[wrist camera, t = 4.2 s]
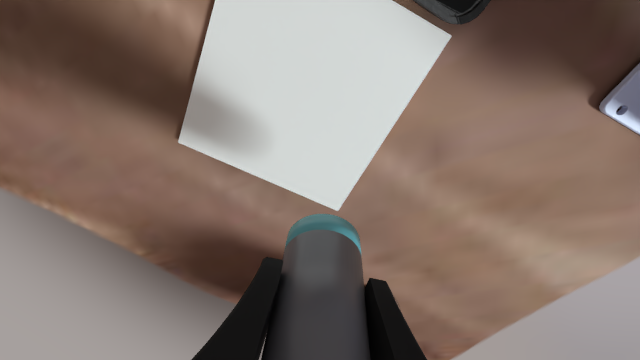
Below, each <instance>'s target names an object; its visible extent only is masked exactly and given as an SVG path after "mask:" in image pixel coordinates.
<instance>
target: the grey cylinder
mask: <svg viewBox="0 0 640 360" xmlns="http://www.w3.org/2000/svg"><path fill="white" fill-rule="evenodd" d="M283 260H284V261H283V266H282V271H281V276H280V281H279V285H278V289H277V294H276V298H275V301H274V305H273V308H272V312H271V316H270V321H269V325H268V330H267V335H266V339H265V344H264V349H263V353H262V358H261V360H371V358H370V347H369V336H368V325H367V314H366V303H365V291H364V280H363V269H362V258H361V247H360V238H359V235H358V233H357V231H356V229H355V228H354V227H353V226H352V225H351V224H350V223H349V222H348V221H346V220H344V219H342V218H340V217H338V216H334V215H330V214H315V215H310V216H307V217H304V218H302V219H300V220H299V221H297V222H296V223H295V224H294V225H293V226H292V227H291V229H290V231H289V233H288V237H287V241H286V246H285V251H284V255H283Z"/></svg>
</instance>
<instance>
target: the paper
mask: <svg viewBox="0 0 640 360" xmlns="http://www.w3.org/2000/svg"><path fill="white" fill-rule="evenodd" d="M450 38H451V35H450V34H448V33H446V32H445V31H443V30H441V29H440V28H438V27H436V26H434V25H433V24H431V23H429V22H428V21H426V20H424V19H423V18H421V17H419V16H418V15H416V14H414V13H413V12H411V11H409V10H408V9H406V8H404V7H403V6H401V5H399V4H397V3H396V2H394V1H392V0H215V3H214V7H213V11H212V15H211V18H210V22H209V26H208V30H207V34H206V37H205V41H204V45H203V49H202V53H201V57H200V60H199V64H198V68H197V72H196V76H195V80H194V83H193V87H192V91H191V95H190V99H189V103H188V106H187V110H186V114H185V118H184V122H183V126H182V129H181V133H180V137H179V141H178V143H181V144H183V145H185V146H188V147H190V148H192V149H195V150H197V151H199V152H202V153H204V154H206V155H208V156H211V157H213V158H215V159H218V160H220V161H222V162H225V163H227V164H229V165H232V166H234V167H236V168H239V169H241V170H243V171H246V172H248V173H250V174H253V175H255V176H257V177H260V178H262V179H264V180H267V181H269V182H271V183H274V184H276V185H278V186H281V187H283V188H285V189H288V190H290V191H292V192H295V193H297V194H299V195H302V196H304V197H306V198H308V199H311V200H313V201H315V202H318V203H320V204H322V205H325V206H327V207H329V208H332V209H334V210H336V211H338V210H339V209H340V207H341V206H342V204H343V202H344V201H345V199H346V198H347V196H348V195H349V193H350V192H351V190H352V189H353V187H354V186H355V184H356V182H357V181H358V179H359V178H360V176H361V175H362V173H363V172H364V170H365V169H366V167H367V166H368V164H369V162H370V161H371V159H372V158H373V156H374V155H375V153H376V152H377V150H378V149H379V147H380V146H381V144H382V142H383V141H384V139H385V138H386V136H387V135H388V133H389V132H390V130H391V129H392V127H393V126H394V124H395V123H396V121H397V119H398V118H399V116H400V115H401V113H402V112H403V110H404V109H405V107H406V106H407V104H408V103H409V101H410V99H411V98H412V96H413V95H414V93H415V92H416V90H417V89H418V87H419V86H420V84H421V83H422V81H423V79H424V78H425V76H426V75H427V73H428V72H429V70H430V69H431V67H432V66H433V64H434V63H435V61H436V59H437V58H438V56H439V55H440V53H441V52H442V50H443V49H444V47H445V46H446V44H447V43H448V41H449V40H450Z"/></svg>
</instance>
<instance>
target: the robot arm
mask: <svg viewBox="0 0 640 360" xmlns="http://www.w3.org/2000/svg"><path fill="white" fill-rule="evenodd" d="M620 106H622V107H621V109H620V110H619V111H618V112H616V111H617V109H618V108H619V107H620ZM599 108H600V111H601V112H602V113H604V114H605V115H607V116H609V117H610V118H612V119H614V120H615V121H617V122H619V123H620V124H622V125H624V126H625V127H627V128H629V129H630V130H632V131H634V132H635V133H637V134H639V135H640V63H639V64H638V65H637V66H636V67H635V68H634V69H633V70H632V71H631V72H630V73H629V74H628V75H627V76H626V77H625V78H624V79H623V80H622V81H621V82H620V83H619V84H618V85H617V86H616V87H615V88H614V89H613V90H612V91H611V92H610V93H609V94H608V95H607V96H606V97H605V98H604V100H603V101H602V102H601V103H600V106H599ZM283 261H284V260H279V259H274V258H269V257H266V258H264V259H263V261H262V264H261V266H260V268H259V270H258V272H257V274H256V275H255V277H254V279H253V281H252V282H251V284H250V286H249V287H248V289H247V290H246V292H245V293H244V295H243V296H242V298H241V299H240V300H239V302H238V303H237V305H236V306H235V308H234V309H233V310H232V312H231V313H230V314H229V316H228V317H227V318H226V320H225V321H224V322H223V323H222V325H221V326H220V327H219V328H218V330H217V331H216V332H215V333H214V335H213V336H212V337H211V338H210V340H209V341H208V342H207V343H206V344H205V345H204V346H203V348H202V349H201V350H200V351H199V352H198V353H197V354H196V355H195V357H194V358H193V359H192V360H259V357H260V353H261V350H262V346H263V344H264V340H265V337H266V334H267V330H268V325H269V321H270V316H271V312H272V308H273V305H274V301H275V298H276V294H277V289H278V285H279V281H280V276H281V271H282V266H283ZM364 291H365V303H366V314H367V325H368V336H369V347H370V358H371V360H427V359H426V357H425V355H424V354H423V352H422V350H421V348H420V347H419V345H418V343H417V341H416V339H415V338H414V336H413V334H412V332H411V330H410V328H409V327H408V325H407V323H406V321H405V319H404V317H403V315H402V313H401V311H400V309H399V307H398V305H397V303H396V301H395V299H394V297H393V294H392V292H391V290H390V288H389V286H388V284H387V282H386V281H383V280H378V279H373V278H369V281H368V283H367V285H366V287H365V289H364Z"/></svg>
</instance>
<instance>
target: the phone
mask: <svg viewBox="0 0 640 360" xmlns="http://www.w3.org/2000/svg"><path fill="white" fill-rule="evenodd" d="M413 1H415V2H416V3H418V4H419V5H421V6H422V7H423V8H425V9H426V10H428V11H429V12H431V13H432V14H434V15H435V16H437V17H438V18H439V19H441V20H443V21H445V22H447V23H451V24H464V23H467V22H470V21H472V20H473V19H475V18H476V17H478V16H479V14H480V13H481V12H482V11H483V10H484V9H485V7H486V6H487V5H488V3H489V2H490V1H491V0H413Z"/></svg>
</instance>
